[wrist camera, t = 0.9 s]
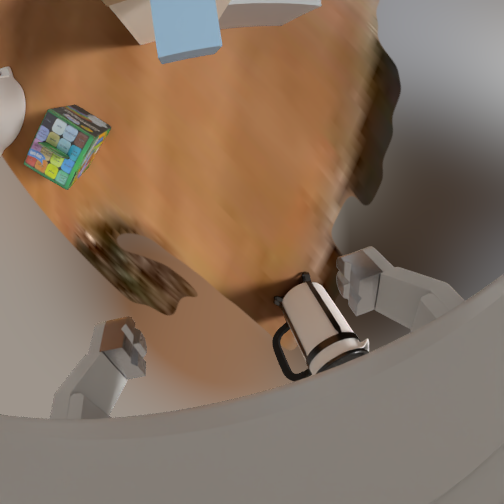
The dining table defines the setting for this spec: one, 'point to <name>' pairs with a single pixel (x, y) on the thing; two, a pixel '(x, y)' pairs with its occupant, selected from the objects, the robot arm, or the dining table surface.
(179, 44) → the blue square bar
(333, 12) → the dining table surface
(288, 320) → the coffee press
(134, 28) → the carton
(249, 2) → the block
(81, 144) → the chalk box
